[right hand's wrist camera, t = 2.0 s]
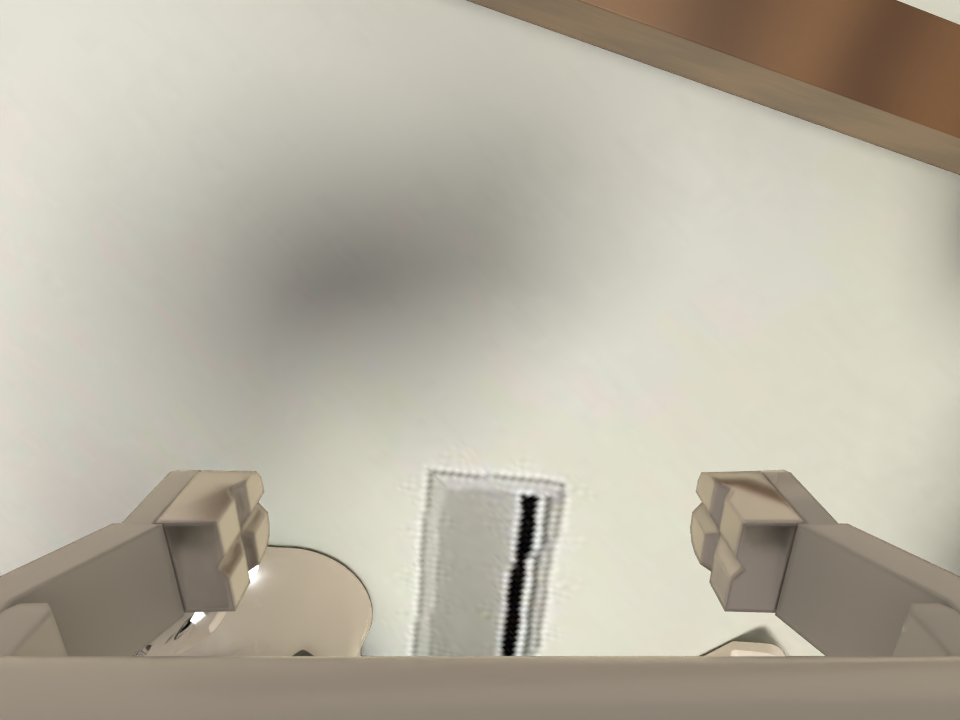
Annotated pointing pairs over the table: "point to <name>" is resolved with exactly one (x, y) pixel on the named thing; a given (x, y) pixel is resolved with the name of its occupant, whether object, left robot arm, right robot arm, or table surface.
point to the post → (792, 59)
